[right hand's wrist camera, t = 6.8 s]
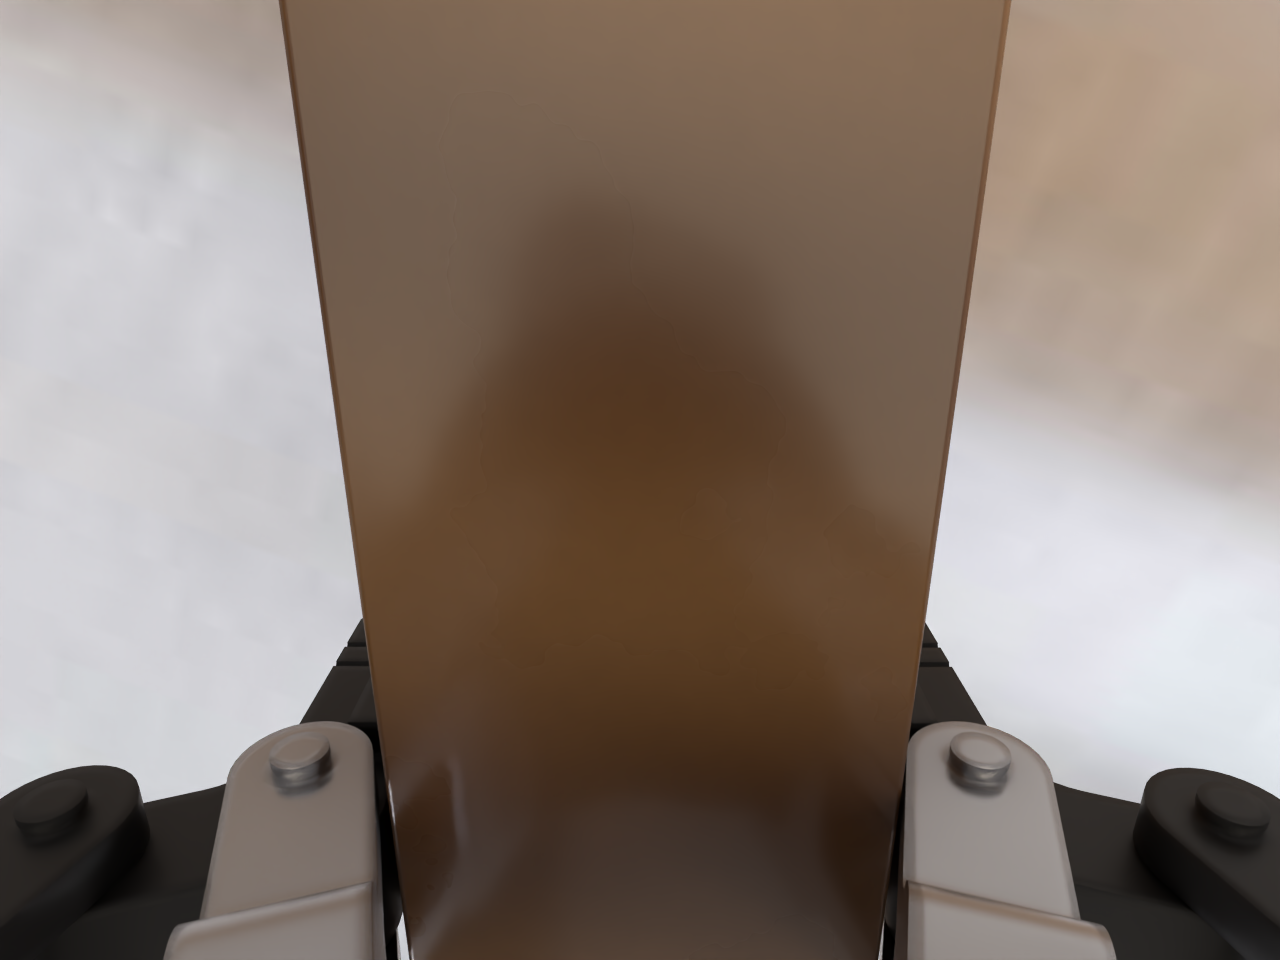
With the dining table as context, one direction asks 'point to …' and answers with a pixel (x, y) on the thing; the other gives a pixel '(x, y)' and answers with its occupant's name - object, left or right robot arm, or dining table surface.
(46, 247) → the dining table surface
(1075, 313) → the dining table surface
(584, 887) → the beam
